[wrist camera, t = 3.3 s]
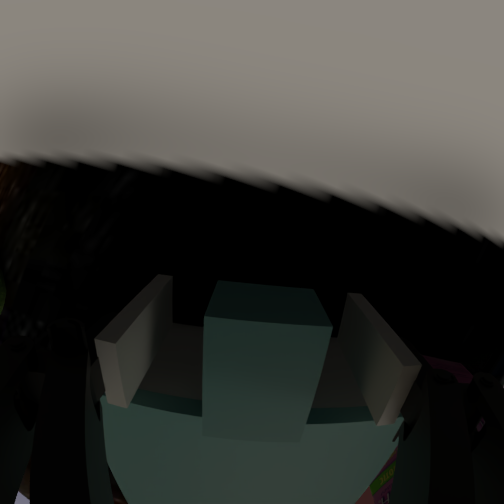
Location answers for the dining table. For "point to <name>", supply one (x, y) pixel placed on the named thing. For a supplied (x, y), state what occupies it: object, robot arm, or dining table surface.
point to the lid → (249, 415)
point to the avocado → (2, 291)
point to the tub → (191, 371)
